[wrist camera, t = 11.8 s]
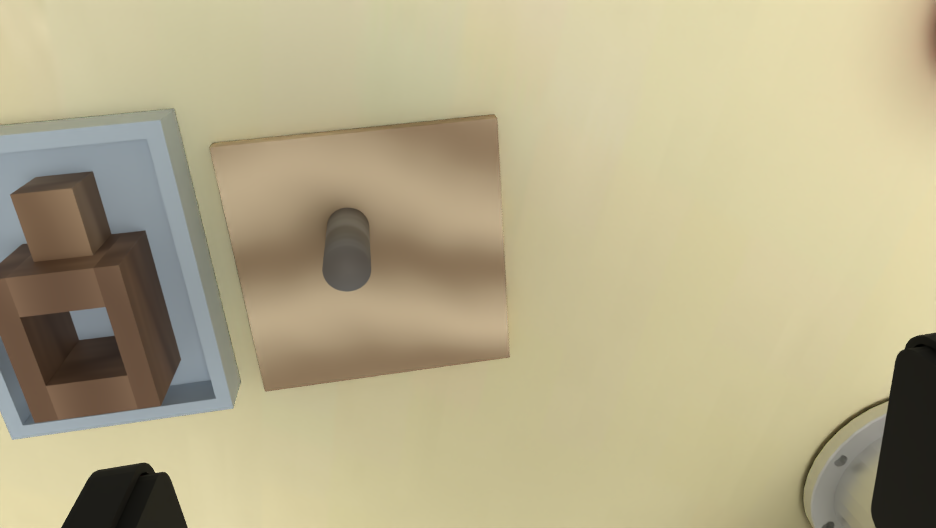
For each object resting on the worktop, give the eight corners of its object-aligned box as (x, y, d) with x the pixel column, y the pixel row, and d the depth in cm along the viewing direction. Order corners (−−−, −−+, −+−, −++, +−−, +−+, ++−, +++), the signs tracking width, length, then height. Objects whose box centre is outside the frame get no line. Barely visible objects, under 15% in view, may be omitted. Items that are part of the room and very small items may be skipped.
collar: (128, 167, 31) (97, 195, 27) (181, 359, 35) (160, 405, 31) (-1, 180, 30) (-50, 210, 27) (68, 374, 34) (34, 423, 31)
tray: (240, 381, 37) (233, 408, 34) (33, 410, 35) (12, 439, 33) (174, 108, 31) (160, 120, 28) (-78, 132, 30) (-112, 146, 27)
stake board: (506, 349, 38) (530, 412, 33) (266, 382, 37) (251, 453, 32) (494, 114, 33) (520, 144, 28) (212, 143, 31) (184, 179, 26)
